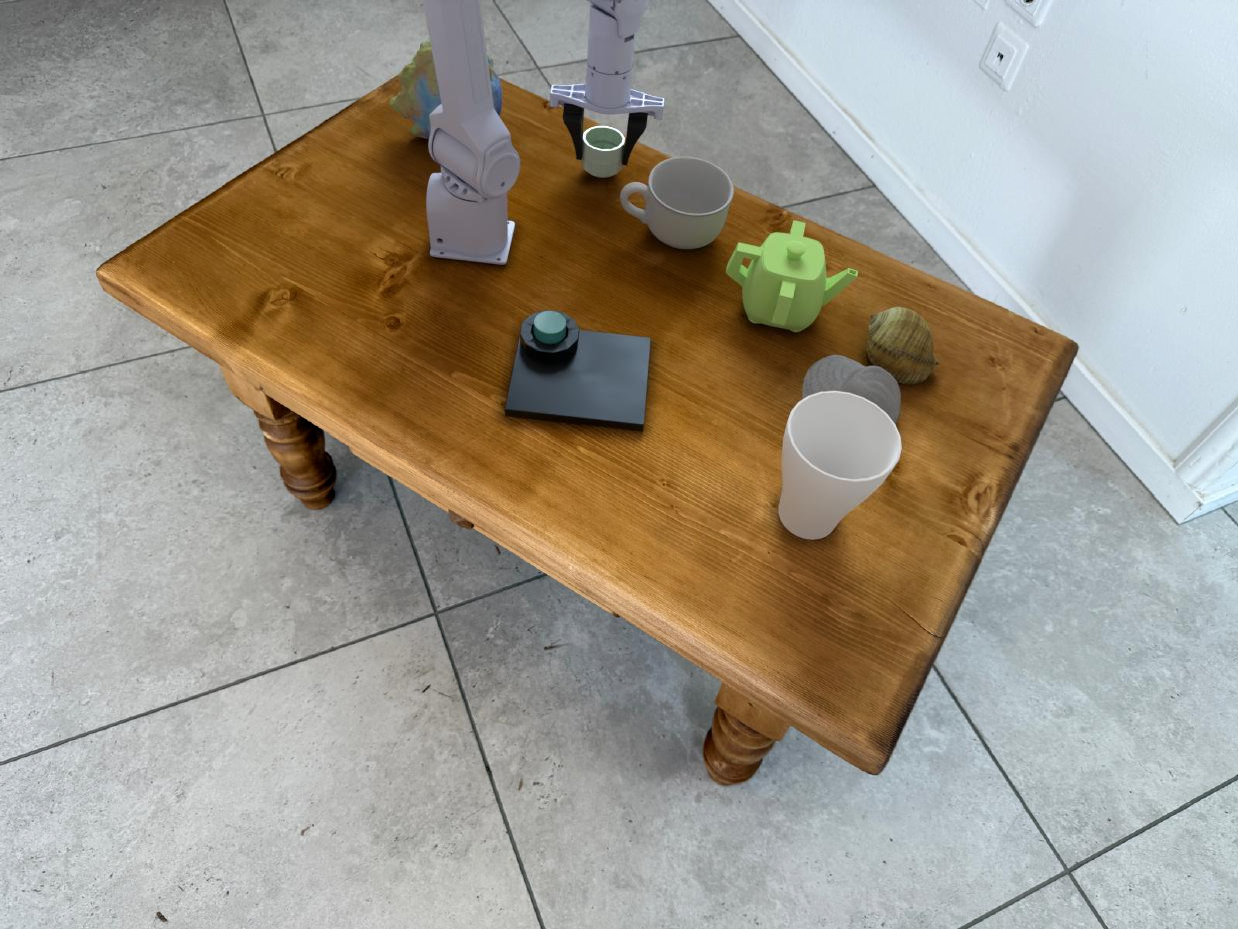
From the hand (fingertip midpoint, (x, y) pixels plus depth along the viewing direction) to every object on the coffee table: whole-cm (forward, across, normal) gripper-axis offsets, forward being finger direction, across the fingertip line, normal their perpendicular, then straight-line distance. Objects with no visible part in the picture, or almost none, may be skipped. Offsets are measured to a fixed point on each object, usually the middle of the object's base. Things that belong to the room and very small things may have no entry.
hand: (602, 158), depth 120 cm
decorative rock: (+3, +22, -5) cm, 23 cm away
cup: (+3, -26, +53) cm, 59 cm away
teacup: (+3, -10, +11) cm, 15 cm away
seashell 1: (+3, -31, +39) cm, 50 cm away
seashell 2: (+2, -38, +29) cm, 48 cm away
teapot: (+3, -24, +23) cm, 33 cm away
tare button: (0, +3, +34) cm, 34 cm away
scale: (+2, -1, +38) cm, 38 cm away
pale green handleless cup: (+1, 0, 0) cm, 1 cm away
